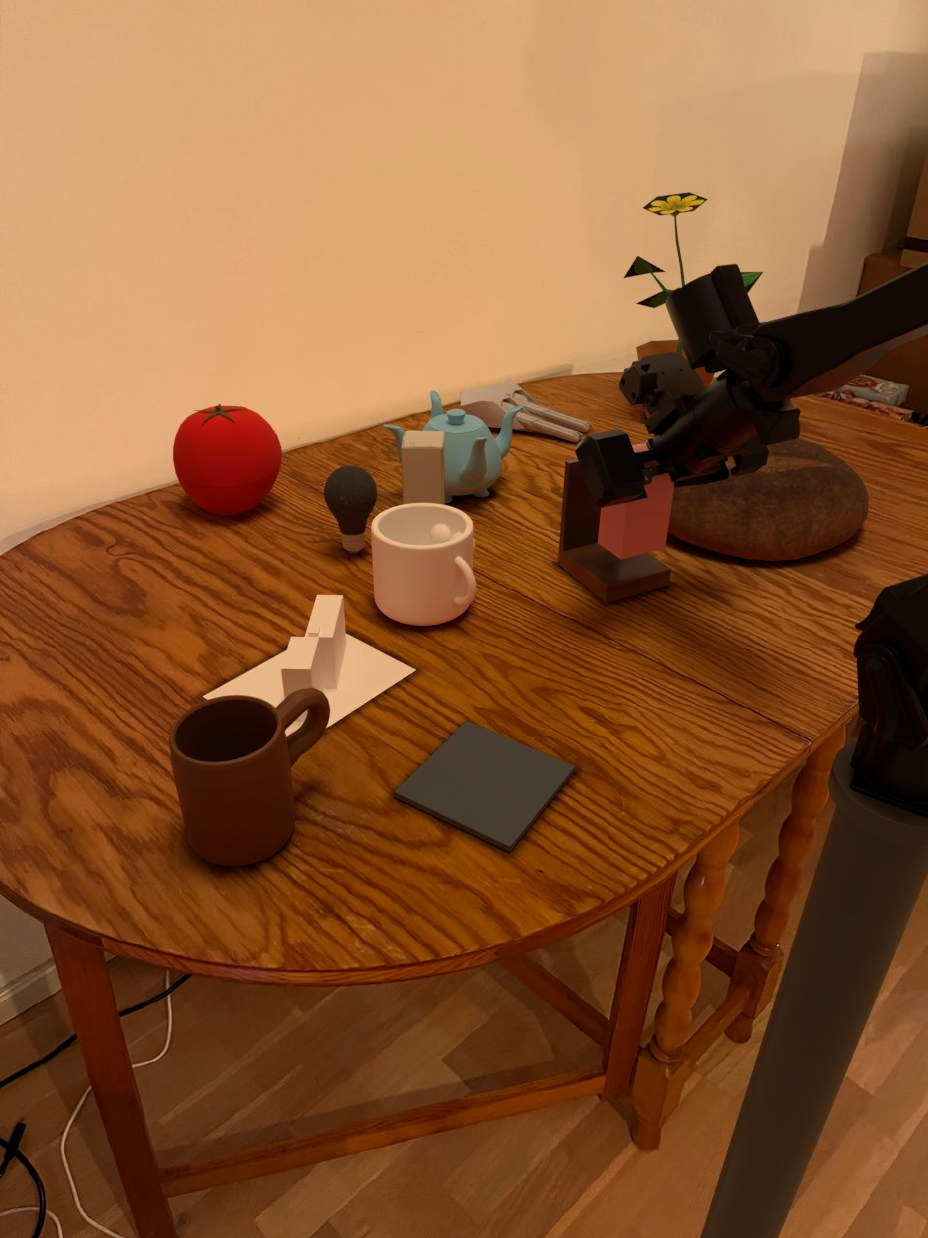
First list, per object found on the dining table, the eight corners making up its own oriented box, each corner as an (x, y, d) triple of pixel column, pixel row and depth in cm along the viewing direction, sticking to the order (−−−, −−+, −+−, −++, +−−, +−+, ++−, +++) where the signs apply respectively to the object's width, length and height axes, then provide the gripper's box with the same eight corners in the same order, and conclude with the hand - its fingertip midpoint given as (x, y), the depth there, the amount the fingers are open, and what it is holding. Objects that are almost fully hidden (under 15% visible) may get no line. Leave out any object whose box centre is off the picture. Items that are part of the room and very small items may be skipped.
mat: (575, 771, 71) (575, 765, 70) (509, 853, 64) (510, 847, 63) (466, 726, 75) (466, 720, 75) (394, 797, 68) (393, 791, 68)
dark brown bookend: (669, 585, 95) (685, 478, 88) (605, 603, 92) (617, 494, 85) (617, 548, 102) (629, 447, 95) (557, 564, 98) (565, 460, 92)
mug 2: (513, 613, 90) (517, 531, 85) (436, 654, 84) (436, 568, 79) (431, 569, 97) (430, 491, 92) (354, 604, 91) (349, 522, 86)
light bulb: (324, 543, 102) (317, 459, 96) (373, 537, 103) (369, 454, 98) (333, 567, 97) (327, 480, 92) (385, 560, 99) (381, 474, 93)
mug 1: (303, 752, 72) (293, 654, 67) (366, 800, 68) (359, 699, 63) (167, 830, 65) (144, 727, 60) (227, 890, 60) (207, 784, 55)
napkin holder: (329, 624, 88) (324, 573, 85) (417, 669, 82) (416, 615, 79) (200, 697, 78) (191, 641, 75) (290, 754, 72) (283, 696, 69)
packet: (665, 548, 92) (678, 454, 87) (620, 560, 90) (631, 464, 84) (641, 532, 95) (652, 440, 90) (597, 543, 93) (606, 450, 87)
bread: (900, 570, 98) (923, 495, 94) (647, 568, 98) (657, 493, 93) (813, 465, 122) (827, 401, 118) (610, 463, 122) (616, 399, 117)
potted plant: (591, 402, 142) (610, 191, 126) (705, 396, 145) (737, 189, 129) (629, 445, 128) (656, 212, 111) (754, 437, 131) (798, 209, 114)
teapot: (522, 479, 117) (526, 403, 112) (481, 521, 107) (483, 439, 102) (431, 462, 122) (431, 387, 116) (384, 500, 111) (381, 420, 106)
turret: (569, 462, 127) (577, 431, 125) (442, 418, 133) (447, 387, 130) (592, 439, 135) (600, 409, 132) (472, 398, 140) (477, 368, 138)
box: (443, 560, 99) (443, 448, 92) (403, 559, 99) (400, 447, 92) (445, 537, 103) (445, 429, 96) (406, 537, 103) (404, 428, 96)
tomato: (178, 532, 104) (160, 426, 97) (184, 490, 113) (168, 390, 107) (288, 524, 106) (278, 419, 99) (285, 483, 115) (275, 385, 109)
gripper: (770, 319, 81) (674, 402, 95) (596, 344, 74) (521, 431, 88) (818, 432, 79) (713, 500, 94) (645, 470, 72) (560, 537, 86)
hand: (629, 489), depth 90 cm, fingers closed on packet, 5 cm apart
